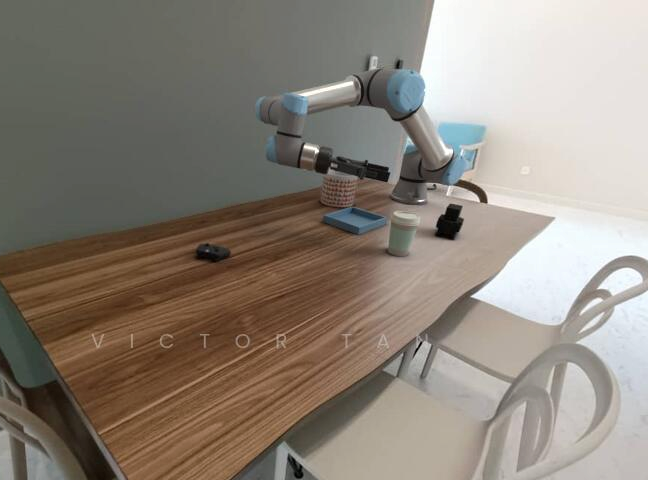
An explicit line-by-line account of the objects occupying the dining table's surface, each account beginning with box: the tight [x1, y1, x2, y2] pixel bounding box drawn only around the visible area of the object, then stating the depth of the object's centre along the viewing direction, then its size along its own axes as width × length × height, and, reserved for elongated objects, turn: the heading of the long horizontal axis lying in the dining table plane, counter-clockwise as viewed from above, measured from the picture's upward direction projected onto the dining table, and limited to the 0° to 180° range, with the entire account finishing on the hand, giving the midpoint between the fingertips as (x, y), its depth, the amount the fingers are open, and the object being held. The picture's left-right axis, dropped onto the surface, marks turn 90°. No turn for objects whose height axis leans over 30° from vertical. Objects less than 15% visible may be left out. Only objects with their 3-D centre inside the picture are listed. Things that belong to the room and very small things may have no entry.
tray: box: [322, 205, 388, 236], centre depth 142 cm, size 18×16×3 cm
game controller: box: [195, 242, 232, 262], centre depth 110 cm, size 10×5×6 cm
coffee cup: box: [387, 210, 421, 257], centre depth 118 cm, size 8×8×12 cm
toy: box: [435, 203, 465, 241], centre depth 137 cm, size 8×14×10 cm, turn 149°
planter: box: [319, 167, 359, 209], centre depth 159 cm, size 14×14×13 cm
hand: (388, 174), depth 114 cm, fingers open, 13 cm apart
